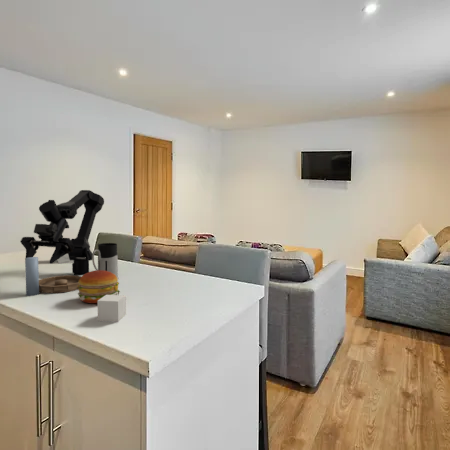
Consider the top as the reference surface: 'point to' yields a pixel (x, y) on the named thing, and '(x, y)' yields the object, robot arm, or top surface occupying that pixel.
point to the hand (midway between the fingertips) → (38, 262)
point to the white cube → (111, 308)
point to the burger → (97, 285)
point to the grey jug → (107, 258)
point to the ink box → (65, 259)
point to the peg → (32, 276)
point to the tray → (59, 284)
